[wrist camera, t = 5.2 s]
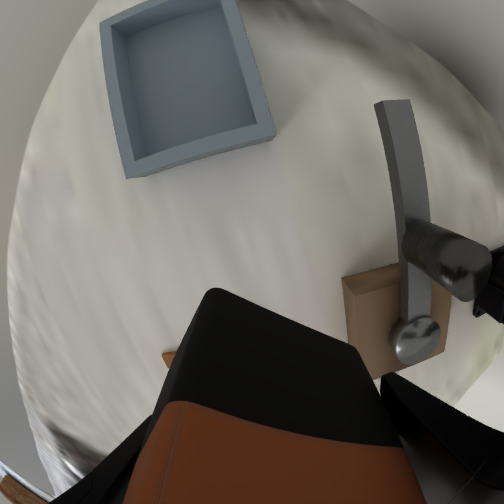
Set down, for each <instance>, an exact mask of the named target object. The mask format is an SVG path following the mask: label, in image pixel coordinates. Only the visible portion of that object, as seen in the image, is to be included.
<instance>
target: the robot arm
mask: <svg viewBox="0 0 504 504" xmlns="http://www.w3.org/2000/svg"><path fill="white" fill-rule="evenodd" d="M490 253H491V257H492V270H491V274H490V278H489V280H488V283H487V285H486V286H485V288H484V290H483V291H482V292H481V293H480V294H479V295H478V296H477V297H476V298H475V303H474V310H473V315H474V316H475V317H476V318H477V317H479V316H481V315H483V314H485V313H488V314H489V315H490V316H491V317H493V318H494V319H495V320H496V321H497V322H499V323H503V324H504V246H503V247H500V248H498V249H495V250H493V251H491V252H490ZM380 395H381V398H382V400H383V402H384V405H385V407H386V409H387V411H388V413H389V415H390V417H391V420H392V422H393V424H394V426H395V428H396V431H397V433H398V435H399V437H400V440H401V442H402V444H403V446H404V449H405V451H406V453H407V456H408V458H409V460H410V463H411V465H412V467H413V470H414V472H415V475H416V477H417V480H418V482H419V485H420V487H421V490H422V492H423V495H424V497H425V500H426V502H427V504H504V432H501V431H498V430H496V429H493V428H491V427H489V426H486V425H485V424H482V423H481V422H479V421H477V420H475V419H473V418H471V417H470V416H467V415H466V414H464V413H462V412H460V411H459V410H457V409H455V408H454V407H452V406H450V405H448V404H447V403H445V402H443V401H442V400H440V399H438V398H436V397H435V396H433V395H431V394H430V393H428V392H426V391H425V390H423V389H421V388H420V387H418V386H416V385H415V384H413V383H411V382H410V381H408V380H406V379H405V378H403V377H401V376H400V375H398V374H396V373H395V372H389V373H386V374H383V375H382V376H381V384H380ZM151 417H152V415H150V416H149V417H148V418H147V419H146V420H145V421H144V422H143V423H142V424H141V425H140V426H139V427H137V428H136V429H135V430H134V431H133V432H132V433H131V434H130V435H129V436H128V437H127V438H126V439H125V440H124V441H123V442H122V443H121V444H120V445H119V446H118V447H117V448H116V449H115V450H113V451H112V452H111V453H110V454H109V455H108V456H107V457H106V458H105V459H104V460H103V461H102V462H101V463H99V464H98V465H97V466H96V467H95V468H94V469H93V470H92V471H91V472H89V473H88V474H87V475H86V476H85V477H84V478H83V479H81V480H80V481H79V482H78V483H77V484H75V485H74V486H73V487H71V488H70V489H69V490H67V491H66V492H64V493H63V494H61V495H60V496H58V497H57V498H55V499H54V500H52V501H51V502H49V503H47V504H123V501H124V498H125V495H126V492H127V488H128V485H129V482H130V479H131V476H132V473H133V470H134V467H135V464H136V461H137V458H138V455H139V452H140V449H141V446H142V443H143V440H144V437H145V434H146V431H147V429H148V426H149V423H150V420H151Z"/></svg>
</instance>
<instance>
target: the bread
mask: <svg viewBox="0 0 504 504" xmlns="http://www.w3.org/2000/svg"><path fill="white" fill-rule="evenodd" d="M0 491H1V493H2V494H3V495H4V496H5V497H6V498H7V499H8V500H9V501H11V502H12V503H13V504H47V503H48V502H46V501H44V500H43V499H41V498H39V497H38V496H36V495H35V494H33V493H32V492H30V491H29V490H28V489H26V488H25V487H23V486H22V485H21V484H19V483H18V482H17V481H16V480H15V479H13V478H12V477H11V476H9V475H5V477H4V478H3V480H2V481H1V483H0Z"/></svg>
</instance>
